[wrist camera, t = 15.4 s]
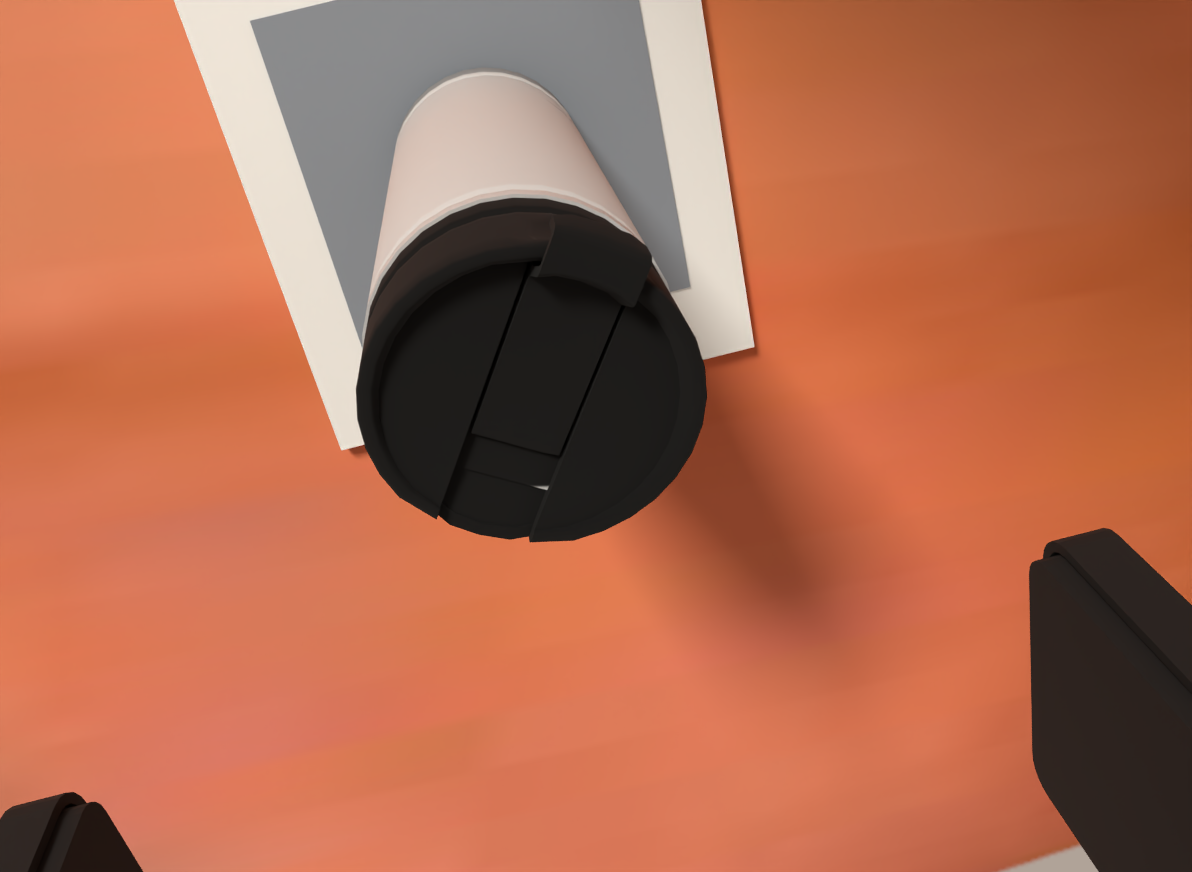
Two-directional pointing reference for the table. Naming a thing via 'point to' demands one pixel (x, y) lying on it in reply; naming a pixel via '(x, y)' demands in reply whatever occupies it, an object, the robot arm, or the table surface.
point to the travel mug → (519, 325)
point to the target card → (387, 92)
